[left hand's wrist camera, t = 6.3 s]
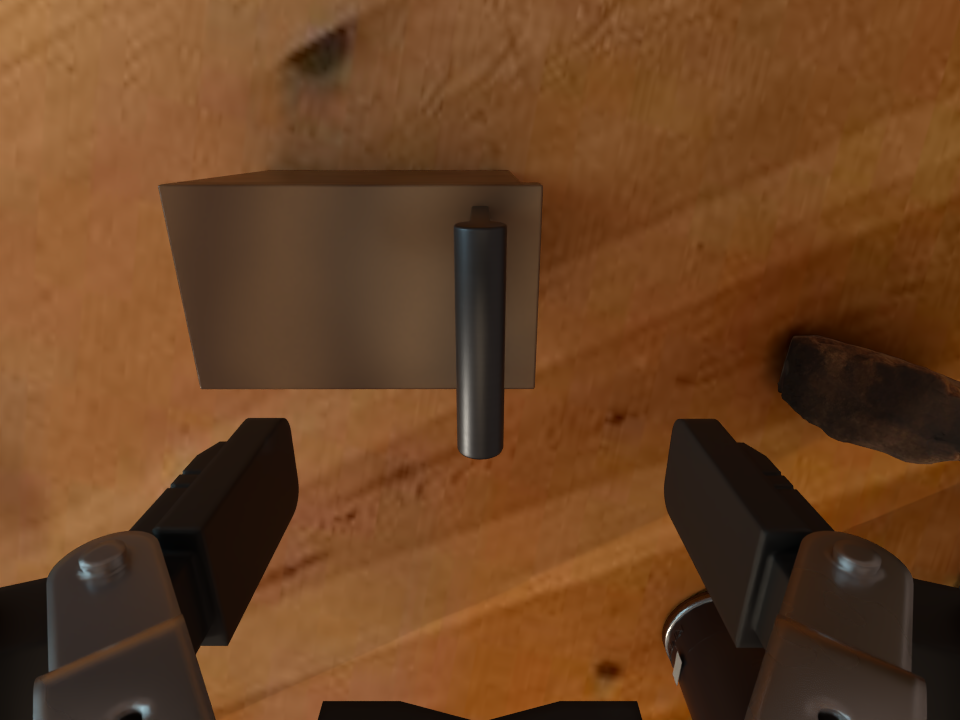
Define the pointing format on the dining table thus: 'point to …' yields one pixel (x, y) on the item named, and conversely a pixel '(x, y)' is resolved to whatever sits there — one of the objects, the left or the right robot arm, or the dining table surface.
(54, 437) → the dining table surface
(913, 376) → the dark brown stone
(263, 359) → the lid
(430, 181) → the chest
